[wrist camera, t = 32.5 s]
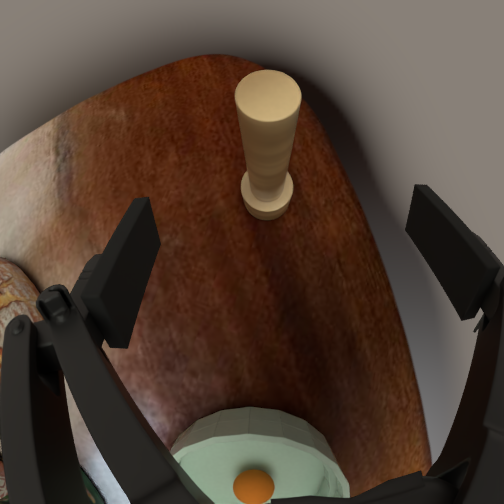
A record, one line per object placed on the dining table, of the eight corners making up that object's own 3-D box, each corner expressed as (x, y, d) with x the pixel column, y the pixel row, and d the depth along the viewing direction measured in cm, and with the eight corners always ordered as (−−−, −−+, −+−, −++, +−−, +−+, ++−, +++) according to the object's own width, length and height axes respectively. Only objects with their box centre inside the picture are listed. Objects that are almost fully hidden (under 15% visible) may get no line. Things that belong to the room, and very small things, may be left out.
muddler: (298, 202, 30) (341, 104, 12) (262, 229, 29) (258, 159, 12) (270, 167, 30) (275, 43, 12) (234, 194, 30) (196, 89, 12)
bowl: (363, 437, 26) (386, 468, 19) (284, 539, 24) (288, 576, 17) (210, 375, 28) (196, 398, 21) (150, 489, 26) (129, 523, 19)
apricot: (244, 477, 26) (277, 467, 26) (250, 509, 23) (285, 500, 22) (222, 471, 24) (257, 461, 23) (227, 507, 21) (264, 499, 20)
